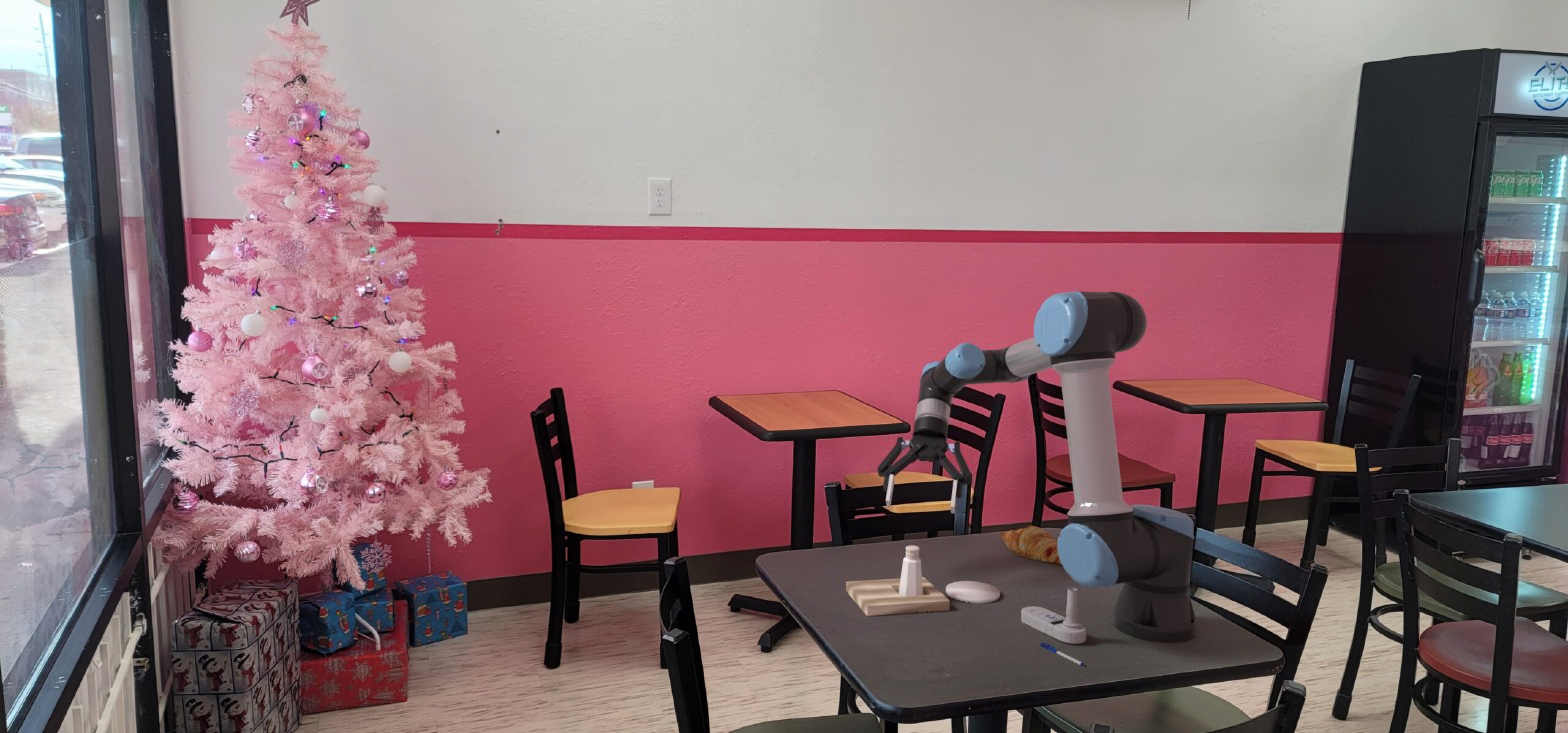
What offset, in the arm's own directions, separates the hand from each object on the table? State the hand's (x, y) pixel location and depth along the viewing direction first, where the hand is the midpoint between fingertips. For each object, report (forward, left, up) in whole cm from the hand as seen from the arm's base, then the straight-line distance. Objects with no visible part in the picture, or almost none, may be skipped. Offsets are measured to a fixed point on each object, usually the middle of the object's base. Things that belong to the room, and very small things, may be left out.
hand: (920, 507), depth 215 cm
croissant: (+13, -34, -17) cm, 40 cm away
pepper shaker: (-10, +5, -17) cm, 20 cm away
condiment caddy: (-10, +8, -16) cm, 21 cm away
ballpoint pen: (-41, -12, -17) cm, 46 cm away
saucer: (-9, -9, -16) cm, 21 cm away
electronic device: (-30, -16, -17) cm, 38 cm away
